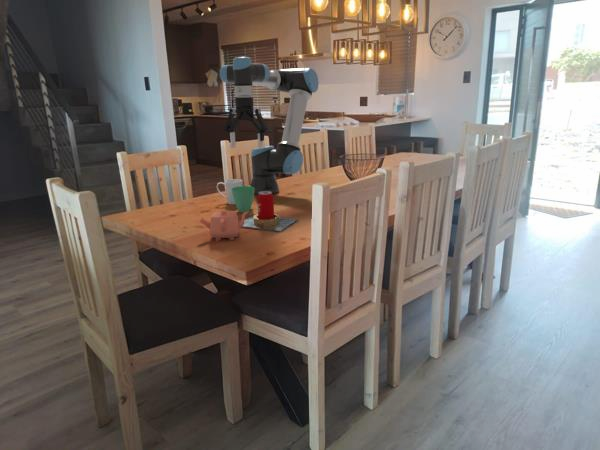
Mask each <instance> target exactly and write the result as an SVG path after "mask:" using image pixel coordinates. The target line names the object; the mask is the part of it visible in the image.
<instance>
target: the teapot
mask: <svg viewBox="0 0 600 450" xmlns="http://www.w3.org/2000/svg"><path fill="white" fill-rule="evenodd" d="M250 211H251V210H250ZM250 211H248V212H242V214H241V218H240V219H239V215H238V212H237V211H233V210H232V211H229V210H227V209H221V210H220V211H214V212H213V213H212V215H211V216H210V222H209V220H207V219H205V218H204V217H201V218H200V219H199V223H201V224H202V225H204V226H205V227H206V228H208V229H209V234H210V237H211V238H215V239H214V240H215V241H217V242H218V241H222V239H224V238H227V239H228V240H229V241H235V239H236V238H235V237H238V236H239V233H240V229H241V228H242V226H243V225H244V221H245V219H246V215H247V214H249V213H250Z"/></svg>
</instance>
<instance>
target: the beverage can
mask: <svg viewBox="0 0 600 450" xmlns="http://www.w3.org/2000/svg"><path fill="white" fill-rule="evenodd" d="M256 200H257V214H258V218H259V219H271V218H274V213H275V208H274V206H275V204H274V193H273V194H272V192H271V191H261V192H259V193H258V194H257V198H256Z"/></svg>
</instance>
